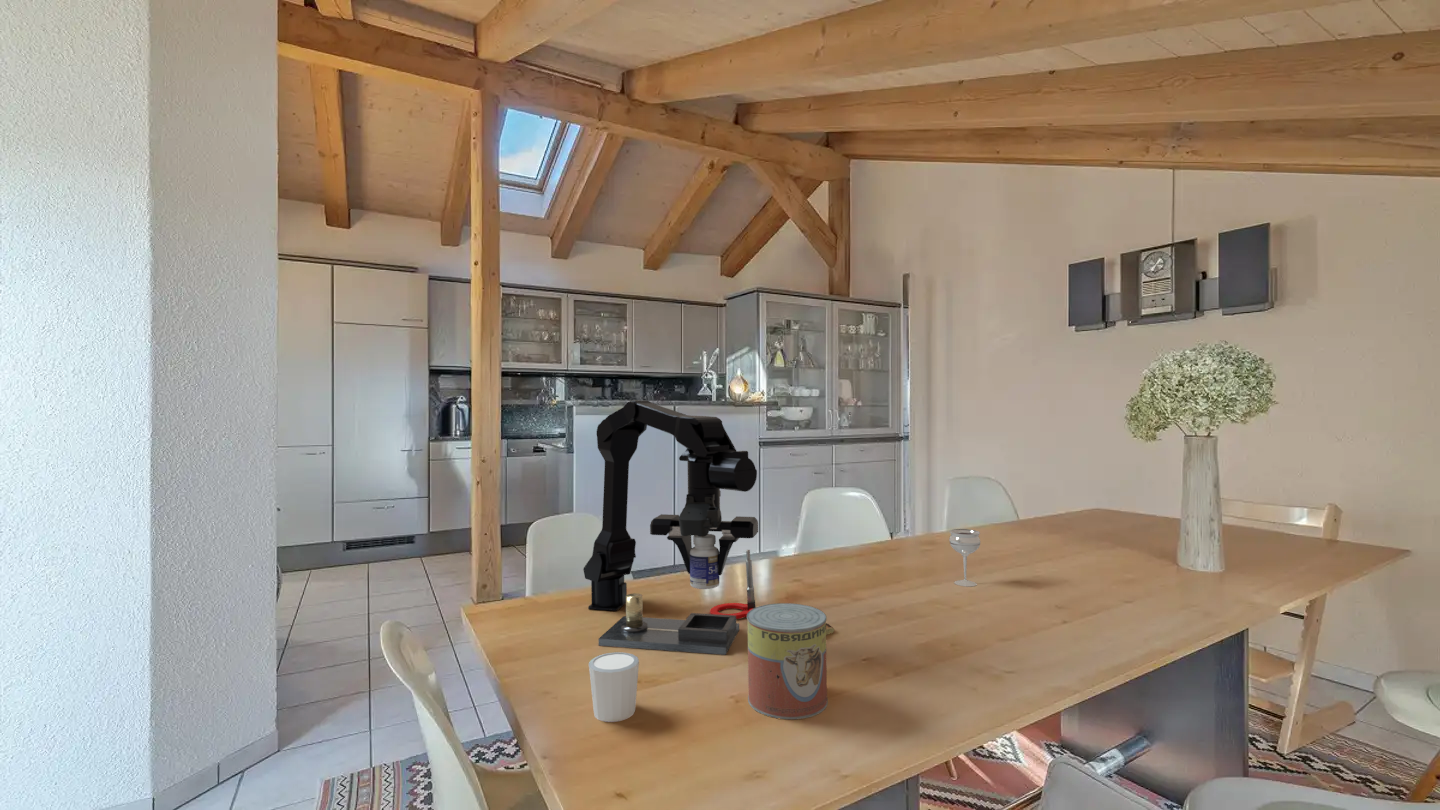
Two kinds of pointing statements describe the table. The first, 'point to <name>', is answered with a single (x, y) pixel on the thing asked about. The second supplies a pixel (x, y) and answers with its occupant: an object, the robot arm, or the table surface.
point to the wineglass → (964, 548)
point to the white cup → (614, 685)
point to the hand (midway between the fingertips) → (704, 574)
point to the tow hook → (750, 596)
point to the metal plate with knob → (671, 631)
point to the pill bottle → (704, 562)
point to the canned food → (787, 660)
